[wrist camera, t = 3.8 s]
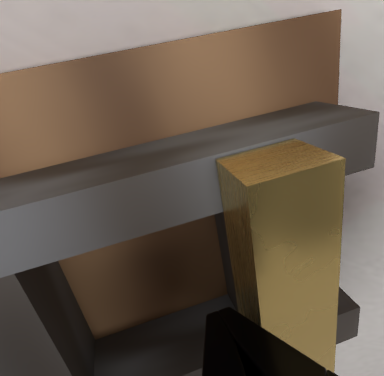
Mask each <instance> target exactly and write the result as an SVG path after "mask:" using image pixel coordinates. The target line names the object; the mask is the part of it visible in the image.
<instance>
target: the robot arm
mask: <svg viewBox="0 0 384 376" xmlns="http://www.w3.org/2000/svg"><path fill="white" fill-rule="evenodd" d="M202 376H338V375H336V374H335V373H333V372H332V371H330V370H326V368H325V367H323V366H322V365H320V364H318V363H317V362H315V361H314V360H312V359H311V358H309V357H308V356H306V355H304V354H303V353H301V352H300V351H298V350H297V349H295V348H294V347H292V346H290V345H289V344H287V343H286V342H284V341H283V340H281V339H280V338H278V337H276V336H275V335H273V334H272V333H270V332H269V331H267V330H266V329H264V328H262V327H261V326H259V325H258V324H256V323H255V322H253V321H252V320H250V319H248V318H247V317H245V316H244V315H242V314H241V313H239V312H238V311H236V310H234V309H233V308H231V307H226V308H223V309H220V310H219V311H214V312H211V313H209V314H207V315H206V322H205V337H204V351H203V366H202Z"/></svg>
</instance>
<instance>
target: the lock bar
mask: <svg viewBox="0 0 384 376" xmlns="http://www.w3.org/2000/svg"><path fill="white" fill-rule="evenodd" d="M215 160H216V167H217V173H218V180H219V187H220V193H221V200H222V207H223V213H224V220H225V226H226V233H227V240H228V246H229V253H230V260H231V266H232V273H233V279H234V286H235V293H236V299H237V306H238V312H239V313H241V314H242V315H244V316H245V317H247V318H248V319H250V320H252V321H253V322H255V323H256V324H258V325H259V326H261V327H262V328H264V329H266V330H267V331H269V332H270V333H272V334H273V335H275V336H276V337H278V338H280V339H281V340H283V341H284V342H286V343H287V344H289V345H290V346H292V347H294V348H295V349H297V350H298V351H300V352H301V353H303V354H304V355H306V356H308V357H309V358H311V359H312V360H314V361H315V362H317V363H318V364H320V365H322V366H323V367H325V368H326V370H330V371H332V372H333V373H334V367H335V348H336V330H337V311H338V293H339V274H340V255H341V237H342V218H343V199H344V181H345V162H346V158H344V157H341V156H339V155H336V154H334V153H331V152H328V151H326V150H323V149H321V148H318V147H316V146H313V145H310V144H308V143H305V142H303V141H300V140H298V139H295V138H294V139H290V140H286V141H282V142H279V143H275V144H271V145H267V146H263V147H260V148H256V149H252V150H248V151H245V152H241V153H237V154H233V155H229V156H226V157H222V158H218V159H215Z"/></svg>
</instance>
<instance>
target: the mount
mask: <svg viewBox="0 0 384 376" xmlns="http://www.w3.org/2000/svg"><path fill="white" fill-rule="evenodd" d="M340 32H341V9H340V10H335V11H329V12H324V13H319V14H314V15H308V16H303V17H298V18H292V19H287V20H282V21H276V22H271V23H266V24H261V25H255V26H250V27H245V28H239V29H234V30H229V31H224V32H218V33H213V34H208V35H202V36H197V37H192V38H187V39H181V40H176V41H171V42H165V43H160V44H155V45H150V46H144V47H139V48H134V49H128V50H123V51H118V52H113V53H107V54H102V55H97V56H91V57H86V58H81V59H75V60H70V61H65V62H60V63H54V64H49V65H44V66H38V67H33V68H28V69H23V70H17V71H12V72H7V73H1V74H0V376H202V366H203V351H204V337H205V322H206V315H207V314H209V313H211V312H214V311H219V310H220V309H223V308H226V307H231V308H233V309H234V310H236V311H238V306H237V299H236V293H235V286H234V279H233V273H232V266H231V260H230V253H229V246H228V240H227V233H226V226H225V220H224V213H223V207H222V200H221V193H220V187H219V180H218V173H217V167H216V160H215V159H218V158H222V157H226V156H229V155H233V154H237V153H241V152H245V151H248V150H252V149H256V148H260V147H263V146H267V145H271V144H275V143H279V142H282V141H286V140H290V139H294V138H295V139H298V140H300V141H303V142H305V143H308V144H310V145H313V146H316V147H318V148H321V149H323V150H326V151H328V152H331V153H334V154H336V155H339V156H341V157H344V158H346V162H345V176H346V175H349V174H352V173H356V172H359V171H363V170H366V169H369V168H373V167H374V162H375V152H376V142H377V132H378V122H379V112H376V111H370V110H365V109H359V108H353V107H347V106H341V105H338V85H339V59H340ZM359 313H360V307H359V306H358V305H357V304H356V303H355V302H354V301H353V300H352V299H351V298H350V297H349V296H348V295H347V294H346V293H345V292H344V291H343V290H342V289H341V288H340V287H339V293H338V311H337V330H336V344H338V343H341V342H343V341H346V340H348V339H351V338H353V337H356V336H357V333H358V323H359Z"/></svg>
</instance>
